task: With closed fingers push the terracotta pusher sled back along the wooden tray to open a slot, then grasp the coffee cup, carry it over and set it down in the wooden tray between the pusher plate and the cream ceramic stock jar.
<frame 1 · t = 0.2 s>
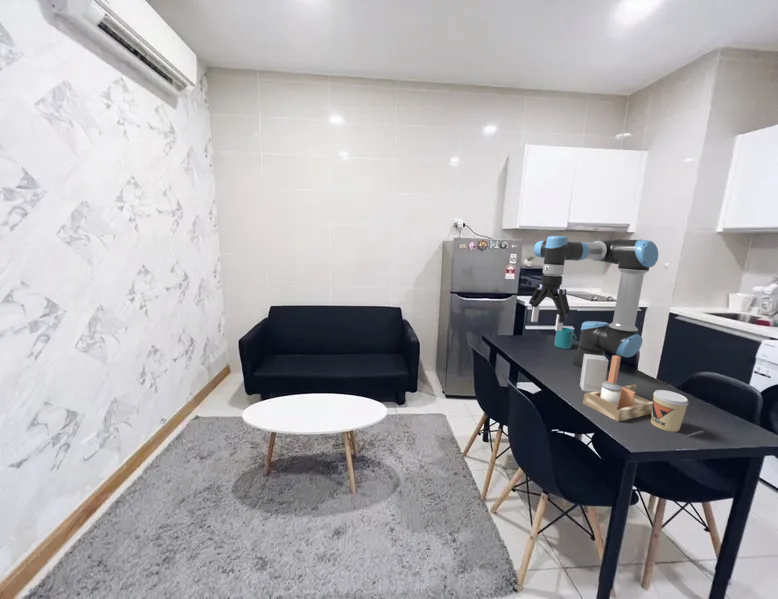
hand: (545, 325, 141), 28 cm above the table, fingers open, 13 cm apart
cup: (564, 347, 205), on the table
skincare box: (590, 391, 145), on the table
pusher: (622, 383, 128), point 11 cm above the table, slide at 0.0 cm
wooden tray: (625, 407, 132), on the table
coffee cup: (664, 427, 119), on the table
stock jar: (607, 410, 128), point 1 cm above the table, touching wooden tray
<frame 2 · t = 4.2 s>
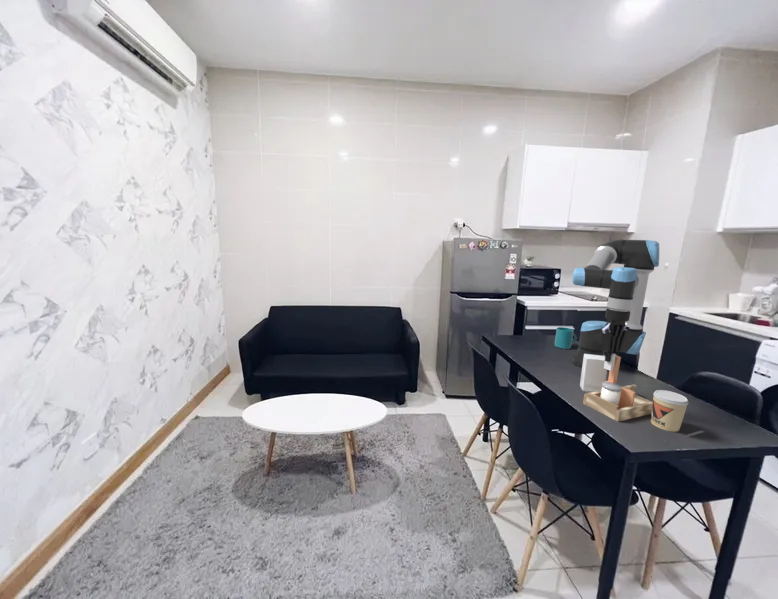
hand: (608, 369, 130), 15 cm above the table, fingers closed
pusher: (622, 383, 128), point 11 cm above the table, slide at 0.0 cm, touching gripper
everything else where it was.
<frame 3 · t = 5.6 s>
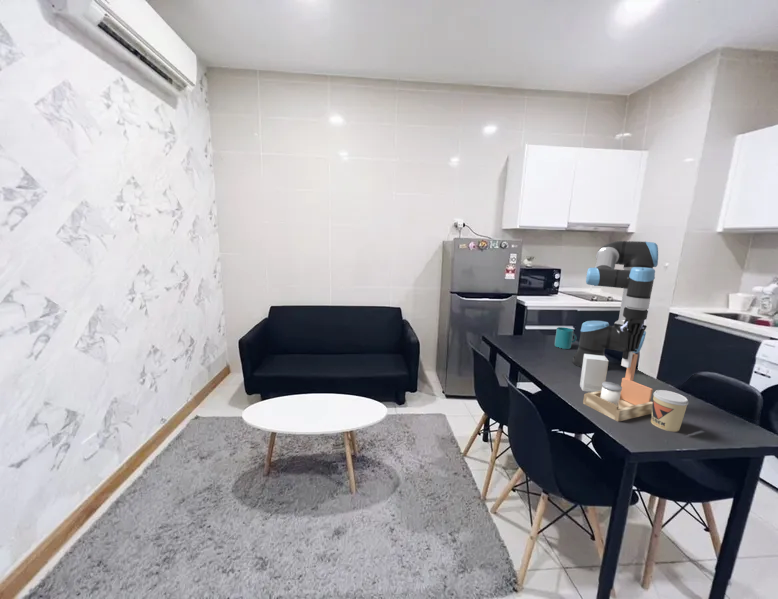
hand: (625, 366, 133), 15 cm above the table, fingers closed
pusher: (639, 380, 132), point 11 cm above the table, slide at 9.9 cm, touching gripper
everything else where it was.
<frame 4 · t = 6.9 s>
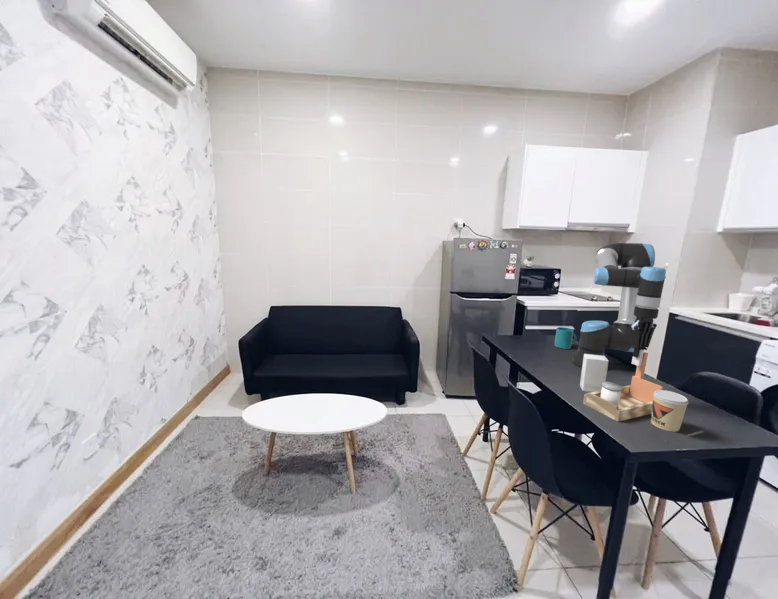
hand: (636, 364, 136), 15 cm above the table, fingers closed
pusher: (649, 378, 134), point 11 cm above the table, slide at 16.1 cm, touching gripper
everything else where it was.
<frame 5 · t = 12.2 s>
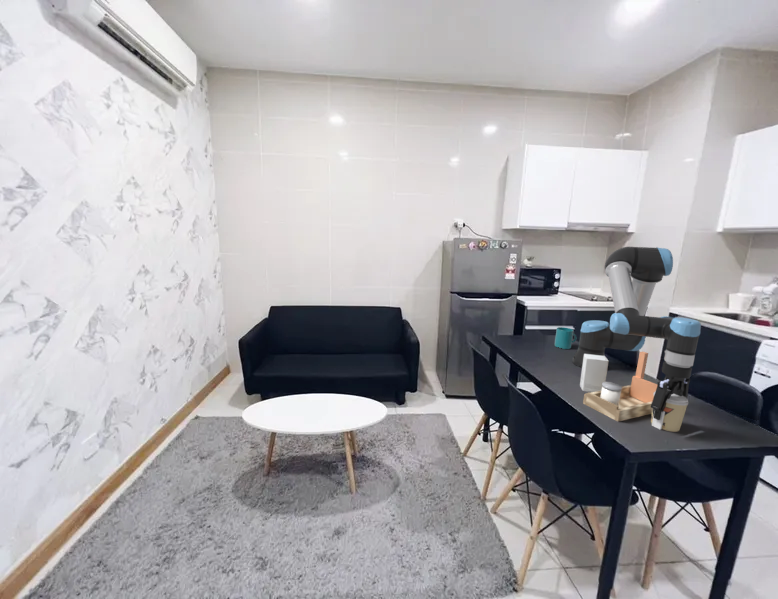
hand: (664, 424, 118), 1 cm above the table, fingers closed on coffee cup, 9 cm apart
pusher: (650, 378, 134), point 11 cm above the table, slide at 16.3 cm
coffee cup: (664, 427, 119), on the table, touching gripper
everything else where it was.
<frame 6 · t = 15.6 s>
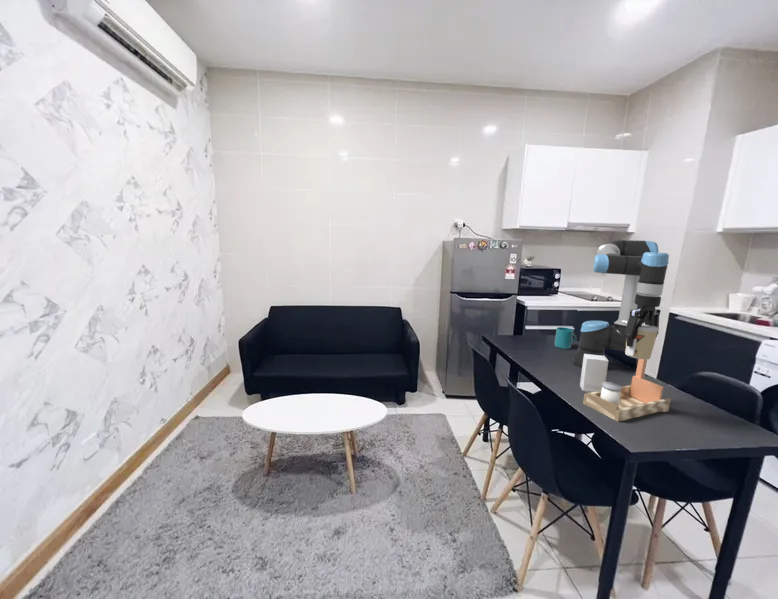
hand: (637, 353, 128), 22 cm above the table, fingers closed on coffee cup, 9 cm apart
coffee cup: (637, 356, 128), point 21 cm above the table, touching gripper
everything else where it was.
when the fingers open (3 cm above the table, at t = 19.3 s): coffee cup drops 1 cm, resting on wooden tray.
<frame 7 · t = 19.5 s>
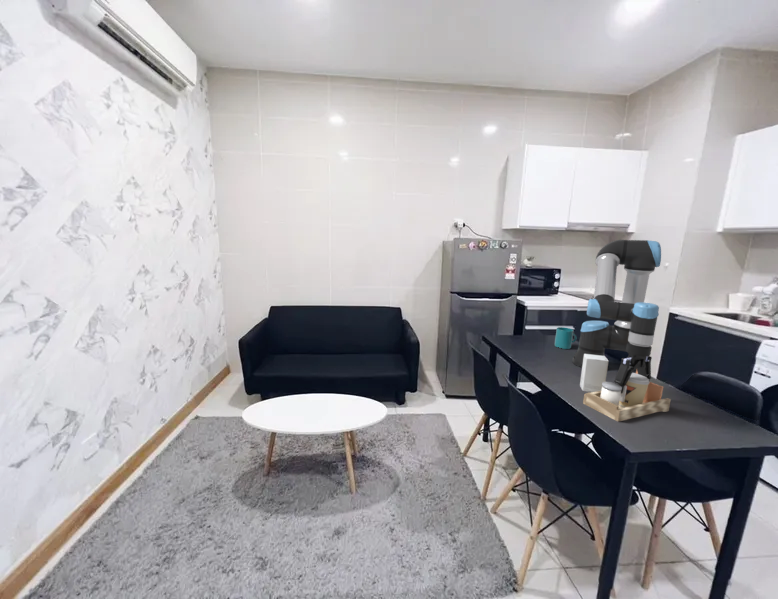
hand: (629, 398, 131), 4 cm above the table, fingers open, 10 cm apart
coffee cup: (628, 405, 132), point 1 cm above the table, touching wooden tray
stock jar: (607, 410, 128), point 1 cm above the table, touching gripper, wooden tray
everything else where it was.
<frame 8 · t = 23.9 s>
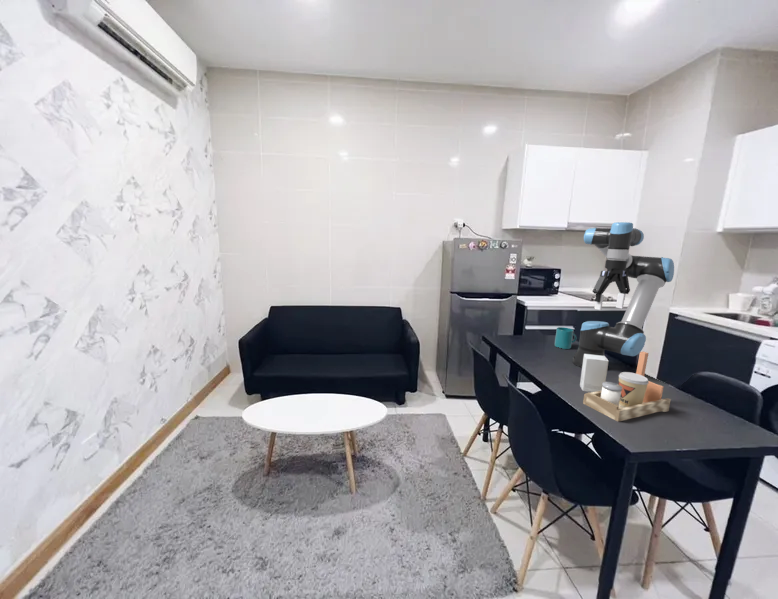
hand: (608, 308, 147), 35 cm above the table, fingers open, 13 cm apart
stock jar: (608, 410, 128), point 1 cm above the table, touching wooden tray
everything else where it was.
at the end: coffee cup inside the target area on the wooden tray (0.3 cm from its centre), point 0.6 cm above the wooden tray's base; coffee cup tilted 0°; pusher slide at 16.4 cm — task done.
